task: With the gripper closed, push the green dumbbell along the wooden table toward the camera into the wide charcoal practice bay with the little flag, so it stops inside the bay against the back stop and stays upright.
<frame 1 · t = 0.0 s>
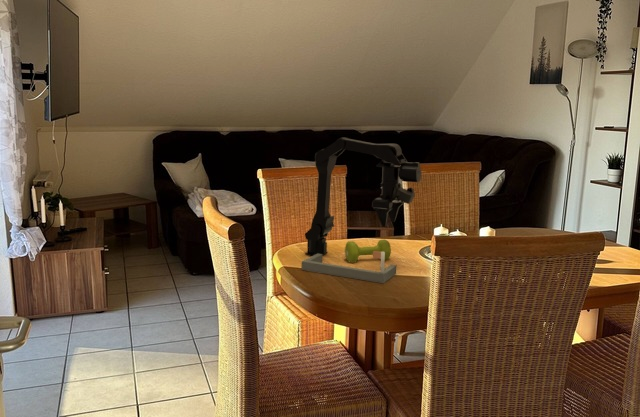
hand: (388, 224, 209), 15 cm above the table, fingers open, 9 cm apart
soda can: (445, 269, 208), on the table
practice bay: (346, 273, 201), on the table
dumbbell: (367, 260, 217), on the table
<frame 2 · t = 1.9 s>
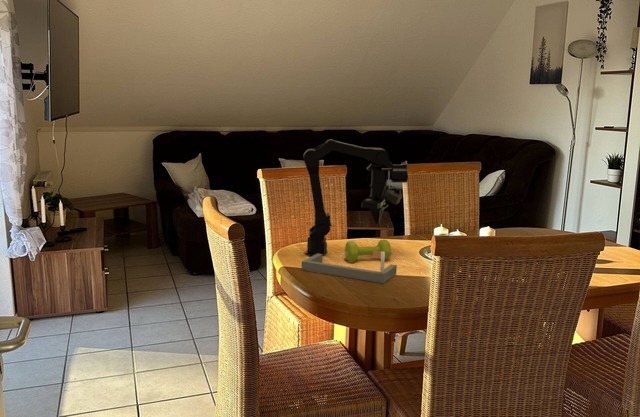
hand: (377, 223, 223), 12 cm above the table, fingers closed
nothing on the table moved.
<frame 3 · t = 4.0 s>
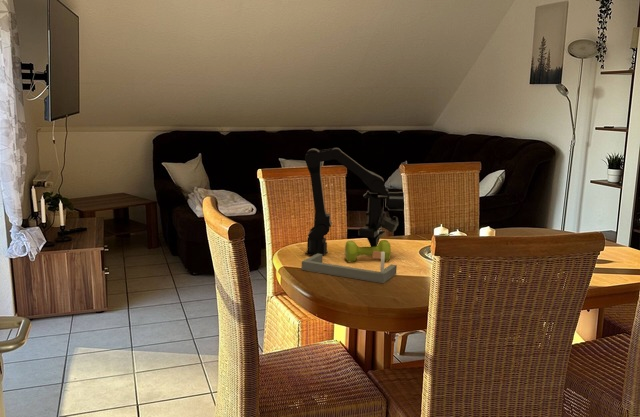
hand: (374, 250, 223), 2 cm above the table, fingers closed
dumbbell: (367, 260, 217), on the table, touching gripper
everything else where it was.
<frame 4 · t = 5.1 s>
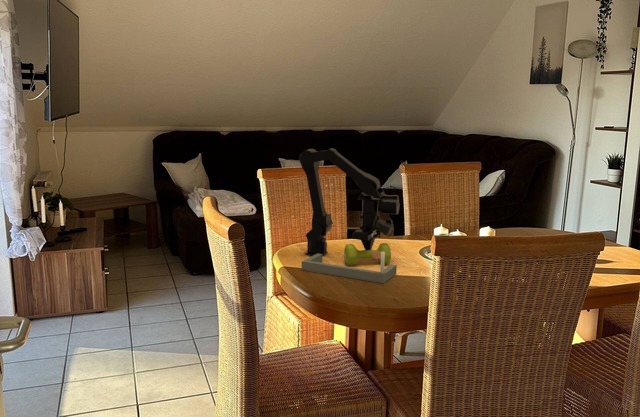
hand: (368, 253, 218), 2 cm above the table, fingers closed
dumbbell: (367, 264, 213), on the table
everything else where it was.
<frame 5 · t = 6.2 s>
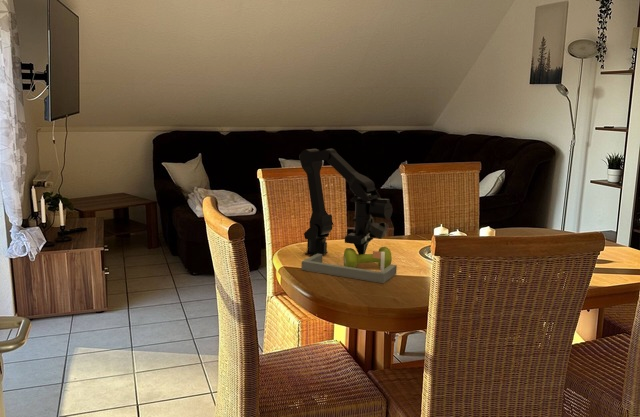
hand: (362, 257, 212), 2 cm above the table, fingers closed
dumbbell: (367, 268, 207), on the table
everything else where it was.
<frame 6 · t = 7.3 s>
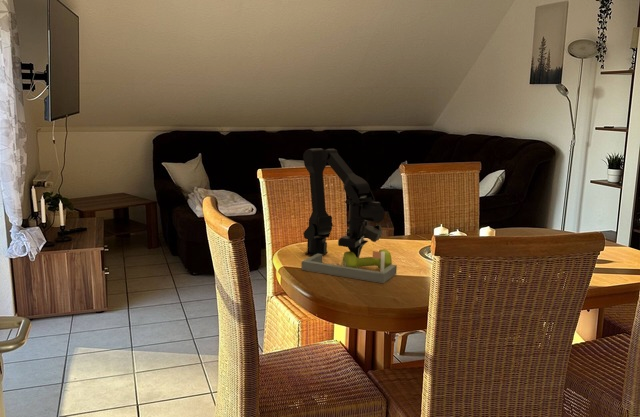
hand: (356, 261, 208), 2 cm above the table, fingers closed
dumbbell: (366, 272, 204), on the table, touching gripper
everything else where it was.
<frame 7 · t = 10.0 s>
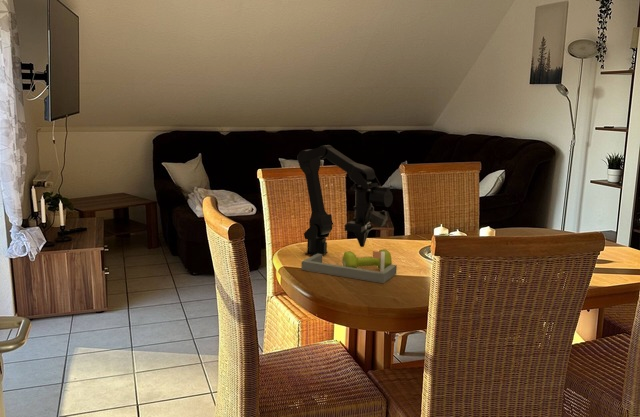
hand: (362, 246, 211), 6 cm above the table, fingers closed
dumbbell: (366, 272, 204), on the table
everything else where it was.
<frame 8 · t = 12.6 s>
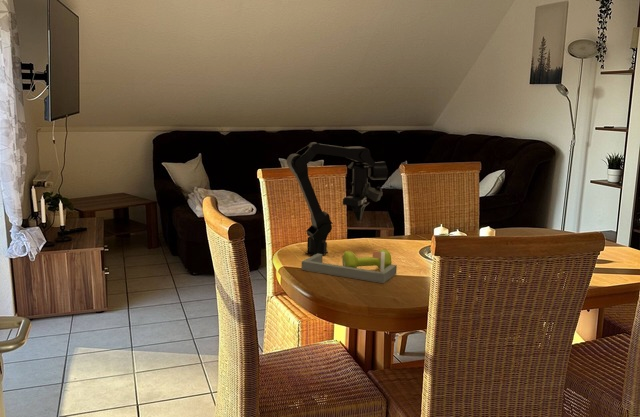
hand: (359, 220, 227), 12 cm above the table, fingers closed
nothing on the table moved.
at the end: dumbbell inside the target area (5.8 cm from its centre), on the table; dumbbell tilted 0° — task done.
